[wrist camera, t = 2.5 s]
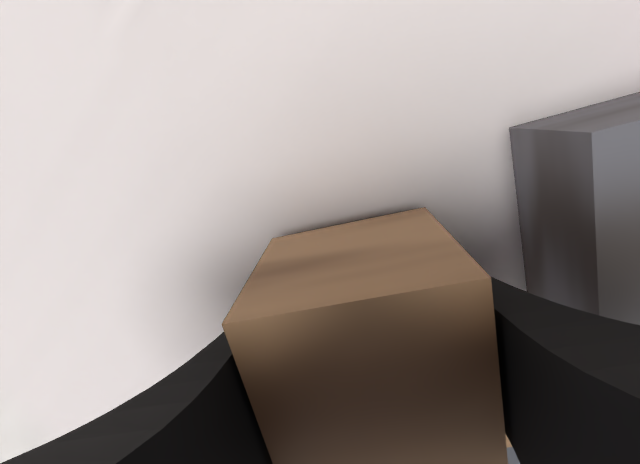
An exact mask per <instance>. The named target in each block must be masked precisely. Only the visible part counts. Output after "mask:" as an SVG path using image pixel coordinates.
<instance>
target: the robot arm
mask: <svg viewBox="0 0 640 464" xmlns="http://www.w3.org/2000/svg"><path fill="white" fill-rule="evenodd" d="M491 282H492V293H493V304H494V315H495V326H496V337H497V348H498V359H499V370H500V381H501V392H502V403H503V414H504V425H505V433H506V435H507V437H508V439H509V441H510V443H511V445H512V447H513V449H514V451H515V453H516V455H517V458H518V460H519V462H520V464H640V325H637V324H632V323H627V322H623V321H619V320H615V319H611V318H607V317H603V316H599V315H596V314H592V313H589V312H585V311H581V310H578V309H574V308H571V307H568V306H565V305H562V304H559V303H556V302H553V301H550V300H547V299H544V298H542V297H539V296H536V295H533V294H531V293H528V292H526V291H523V290H521V289H518V288H516V287H513V286H511V285H508V284H506V283H504V282H501V281H499V280H497V279H495V278H492V277H491ZM1 464H273V463H272V460H271V457H270V455H269V452H268V449H267V447H266V444H265V441H264V438H263V436H262V433H261V430H260V427H259V425H258V422H257V419H256V417H255V414H254V411H253V408H252V406H251V403H250V400H249V398H248V395H247V392H246V389H245V387H244V384H243V381H242V378H241V376H240V373H239V370H238V368H237V365H236V362H235V359H234V357H233V354H232V351H231V348H230V346H229V343H228V340H227V338H226V335H225V332H223V333H222V334H221V335H220V336H219V337H217V338H216V339H215V340H214V341H212V342H211V343H210V344H209V345H208V346H206V347H205V348H204V349H203V350H201V351H200V352H199V353H198V354H196V355H195V356H194V357H193V358H191V359H190V360H189V361H188V362H186V363H185V364H184V365H182V366H181V367H179V368H178V369H177V370H175V371H174V372H172V373H171V374H169V375H168V376H167V377H165V378H164V379H162V380H161V381H159V382H158V383H156V384H155V385H153V386H152V387H150V388H148V389H147V390H145V391H143V392H142V393H140V394H138V395H137V396H135V397H133V398H132V399H130V400H128V401H127V402H125V403H123V404H121V405H120V406H118V407H116V408H115V409H113V410H111V411H109V412H108V413H106V414H104V415H102V416H100V417H98V418H96V419H95V420H93V421H91V422H89V423H87V424H85V425H83V426H81V427H79V428H77V429H75V430H73V431H71V432H69V433H67V434H65V435H63V436H61V437H59V438H57V439H55V440H52V441H50V442H48V443H46V444H44V445H42V446H39V447H37V448H35V449H32V450H30V451H28V452H26V453H23V454H21V455H19V456H17V457H14V458H12V459H10V460H7V461H5V462H3V463H1Z"/></svg>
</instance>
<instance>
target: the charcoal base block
mask: <svg viewBox="0 0 640 464" xmlns="http://www.w3.org/2000/svg"><path fill="white" fill-rule="evenodd" d="M509 132H510V141H511V150H512V159H513V168H514V177H515V186H516V195H517V204H518V213H519V222H520V231H521V240H522V249H523V258H524V267H525V276H526V285H527V292H528V293H531V294H533V295H536V296H539V297H542V298H544V299H547V300H550V301H553V302H556V303H559V304H562V305H565V306H568V307H571V308H574V309H578V310H581V311H585V312H589V313H592V314H596V315H599V316H603V317H607V318H611V319H615V320H619V321H623V322H627V323H632V324H637V325H640V92H638V93H634V94H631V95H627V96H623V97H620V98H616V99H612V100H609V101H605V102H601V103H598V104H594V105H590V106H587V107H583V108H580V109H576V110H572V111H569V112H565V113H561V114H558V115H554V116H550V117H547V118H543V119H539V120H536V121H532V122H528V123H525V124H521V125H517V126H514V127H510V128H509Z"/></svg>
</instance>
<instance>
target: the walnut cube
mask: <svg viewBox="0 0 640 464" xmlns="http://www.w3.org/2000/svg"><path fill="white" fill-rule="evenodd" d="M222 327H223V329H224V332H225V335H226V338H227V340H228V343H229V346H230V348H231V351H232V354H233V357H234V359H235V362H236V365H237V368H238V370H239V373H240V376H241V378H242V381H243V384H244V387H245V389H246V392H247V395H248V398H249V400H250V403H251V406H252V408H253V411H254V414H255V417H256V419H257V422H258V425H259V427H260V430H261V433H262V436H263V438H264V441H265V444H266V447H267V449H268V452H269V455H270V457H271V460H272V463H273V464H508V458H507V447H506V436H505V425H504V414H503V403H502V392H501V381H500V370H499V359H498V348H497V337H496V326H495V315H494V304H493V293H492V282H491V277H490V276H489V275H488V274H487V273H486V272H485V270H484V269H483V268H482V267H481V266H480V265H479V264H478V263H477V262H476V261H475V260H474V259H473V258H472V257H471V256H470V255H469V253H468V252H467V251H466V250H465V249H464V248H463V247H462V246H461V245H460V244H459V243H458V242H457V241H456V240H455V239H454V238H453V236H452V235H451V234H450V233H449V232H448V231H447V230H446V229H445V228H444V227H443V226H442V225H441V224H440V223H439V222H438V221H437V219H436V218H435V217H434V216H433V215H432V214H431V213H430V212H429V211H428V210H427V209H426V208H425V207H423V208H418V209H413V210H408V211H403V212H399V213H394V214H389V215H384V216H379V217H374V218H369V219H364V220H360V221H355V222H350V223H345V224H340V225H335V226H330V227H325V228H320V229H316V230H311V231H306V232H301V233H296V234H291V235H286V236H281V237H277V238H272V240H271V241H270V243H269V245H268V247H267V248H266V250H265V252H264V253H263V255H262V257H261V258H260V260H259V262H258V263H257V265H256V267H255V269H254V270H253V272H252V274H251V275H250V277H249V279H248V280H247V282H246V284H245V286H244V287H243V289H242V291H241V292H240V294H239V296H238V297H237V299H236V301H235V302H234V304H233V306H232V308H231V309H230V311H229V313H228V314H227V316H226V318H225V319H224V321H223V323H222Z"/></svg>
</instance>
